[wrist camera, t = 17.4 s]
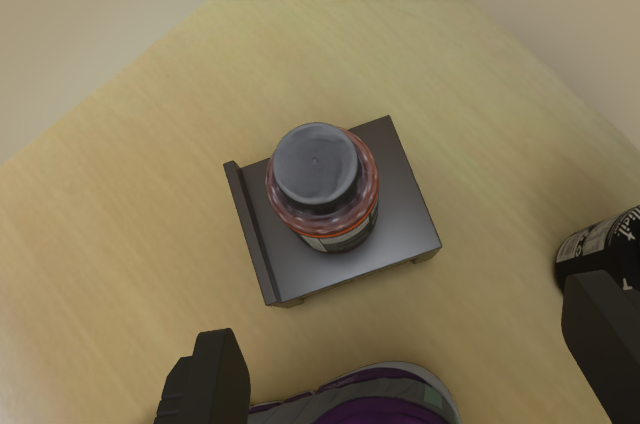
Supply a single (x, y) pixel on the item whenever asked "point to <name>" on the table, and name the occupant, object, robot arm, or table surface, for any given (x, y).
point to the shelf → (335, 268)
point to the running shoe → (367, 399)
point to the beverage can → (604, 250)
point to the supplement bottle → (324, 186)
